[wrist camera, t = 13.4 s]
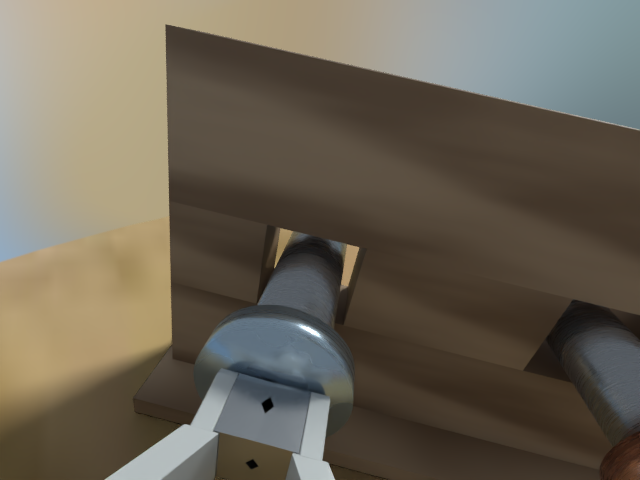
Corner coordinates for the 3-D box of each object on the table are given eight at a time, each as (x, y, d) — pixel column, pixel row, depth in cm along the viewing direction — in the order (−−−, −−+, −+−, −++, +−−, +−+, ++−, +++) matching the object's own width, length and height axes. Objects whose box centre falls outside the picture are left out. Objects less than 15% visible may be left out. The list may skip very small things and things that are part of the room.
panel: (208, 305, 23) (220, 35, 15) (575, 398, 22) (780, 160, 14) (134, 411, 16) (90, 9, 8) (670, 554, 15) (1166, 249, 7)
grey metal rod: (286, 237, 21) (297, 170, 19) (354, 254, 21) (373, 188, 19) (192, 421, 10) (194, 311, 8) (333, 459, 10) (372, 356, 8)
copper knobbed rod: (474, 283, 21) (507, 220, 19) (545, 300, 21) (585, 238, 19) (587, 525, 10) (695, 437, 8) (740, 566, 10) (892, 487, 8)
